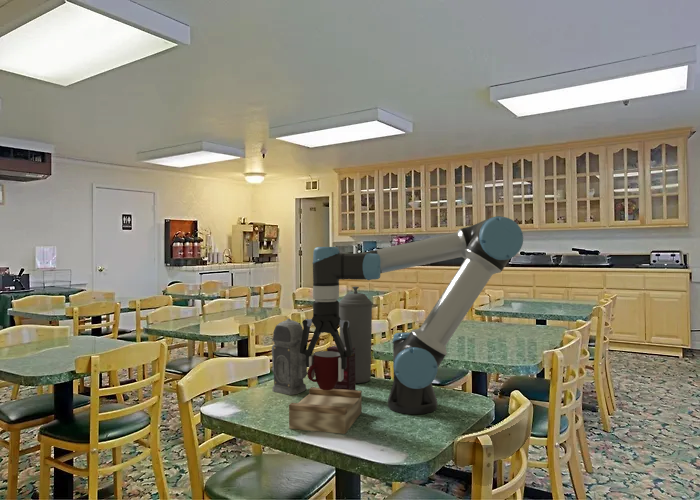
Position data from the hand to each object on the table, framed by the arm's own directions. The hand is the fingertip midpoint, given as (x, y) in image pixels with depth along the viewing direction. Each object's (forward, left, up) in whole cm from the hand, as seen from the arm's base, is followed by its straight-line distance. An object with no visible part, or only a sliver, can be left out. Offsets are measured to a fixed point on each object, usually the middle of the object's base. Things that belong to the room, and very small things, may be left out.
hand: (326, 379), depth 145 cm
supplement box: (+3, -25, -12) cm, 28 cm away
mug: (+1, 0, -3) cm, 3 cm away
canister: (+3, -44, -12) cm, 46 cm away
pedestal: (0, 0, -12) cm, 12 cm away
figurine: (+22, -26, -12) cm, 36 cm away
